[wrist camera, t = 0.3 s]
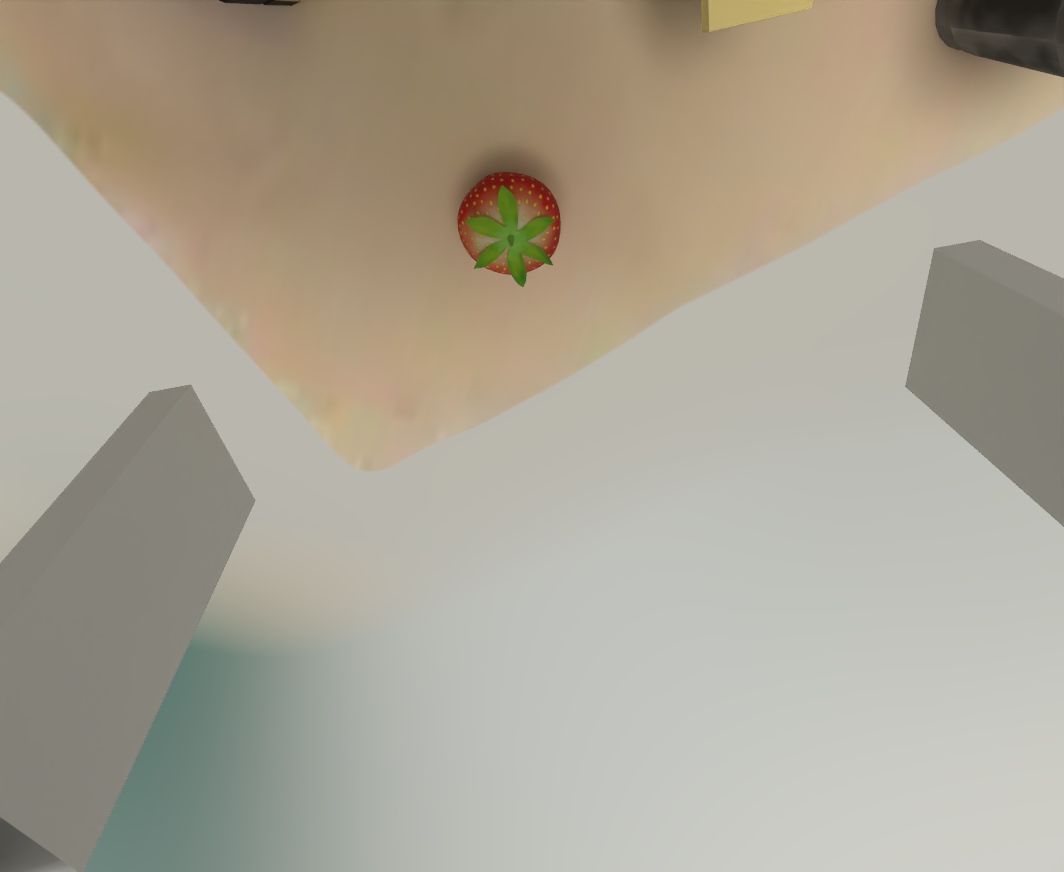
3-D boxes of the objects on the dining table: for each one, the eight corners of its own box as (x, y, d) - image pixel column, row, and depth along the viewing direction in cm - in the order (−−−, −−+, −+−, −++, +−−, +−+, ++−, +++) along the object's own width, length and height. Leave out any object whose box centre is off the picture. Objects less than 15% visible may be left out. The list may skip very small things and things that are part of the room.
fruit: (551, 153, 35) (567, 185, 28) (554, 245, 38) (569, 294, 31) (455, 159, 34) (448, 193, 28) (465, 251, 37) (461, 302, 31)
